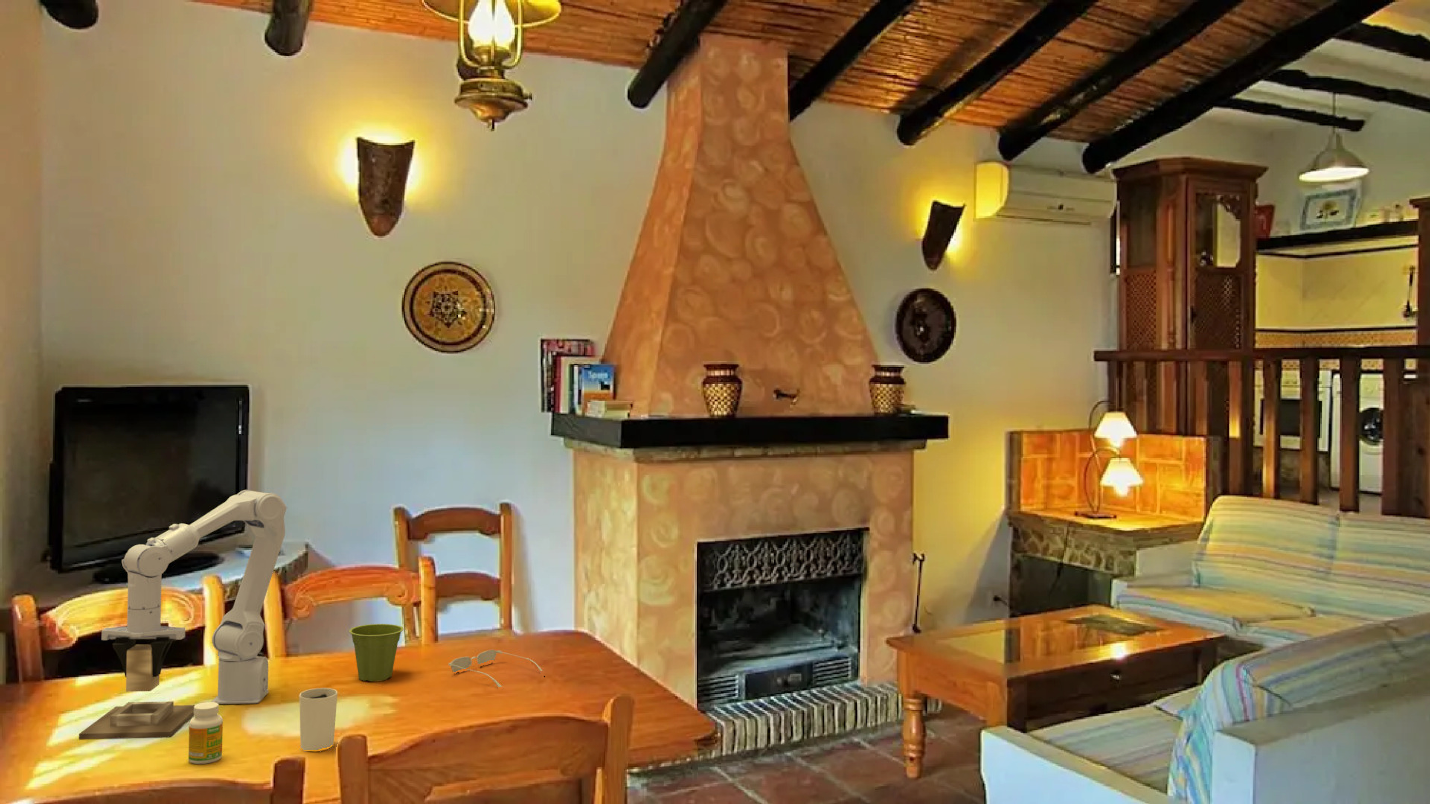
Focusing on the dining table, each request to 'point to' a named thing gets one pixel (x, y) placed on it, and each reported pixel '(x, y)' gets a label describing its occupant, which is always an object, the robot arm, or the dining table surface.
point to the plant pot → (375, 650)
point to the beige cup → (317, 718)
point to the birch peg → (140, 669)
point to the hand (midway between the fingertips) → (142, 675)
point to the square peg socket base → (140, 721)
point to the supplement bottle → (205, 734)
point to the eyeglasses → (481, 658)
